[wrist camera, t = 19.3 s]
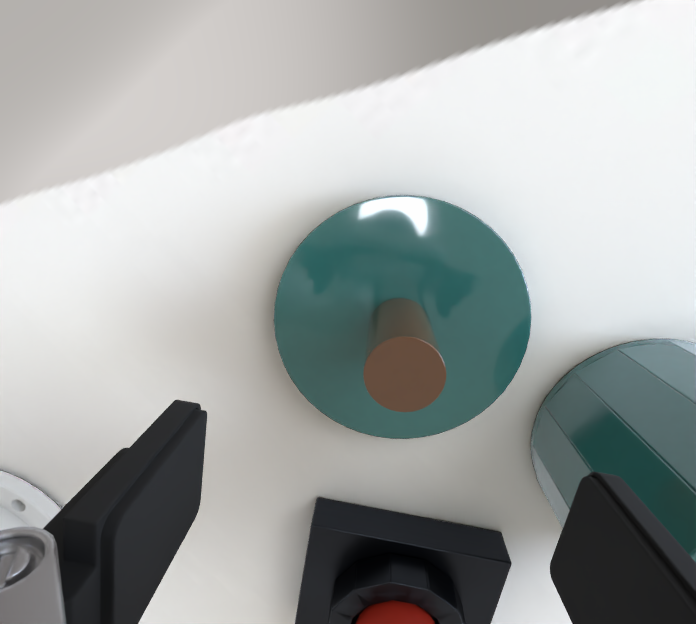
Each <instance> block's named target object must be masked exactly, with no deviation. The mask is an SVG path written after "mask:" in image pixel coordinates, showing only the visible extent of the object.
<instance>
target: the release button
mask: <svg viewBox="0 0 696 624" xmlns="http://www.w3.org/2000/svg"><path fill="white" fill-rule="evenodd" d="M356 624H435V622H434V620H433V619H432V617H431V616H430V615H429V614H428V613H427V612H426V611H425V610H424V609H422V608H421V607H419V606H417V605H415V604H410V603H405V602H400V601H394V600H392V601H387V602H382V603H378V604H373V605H370V606H368V607H367V608H366V609H364V610H363V611H362V612H361V614H360V615H359V617H358V619H357V621H356Z"/></svg>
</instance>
